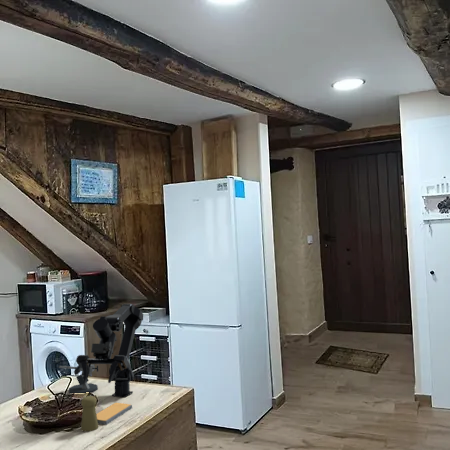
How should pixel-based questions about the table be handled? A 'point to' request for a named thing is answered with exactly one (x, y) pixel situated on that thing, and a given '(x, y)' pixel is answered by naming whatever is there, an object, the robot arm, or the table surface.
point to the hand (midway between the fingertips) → (96, 382)
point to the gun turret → (82, 381)
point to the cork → (89, 414)
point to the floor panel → (112, 412)
